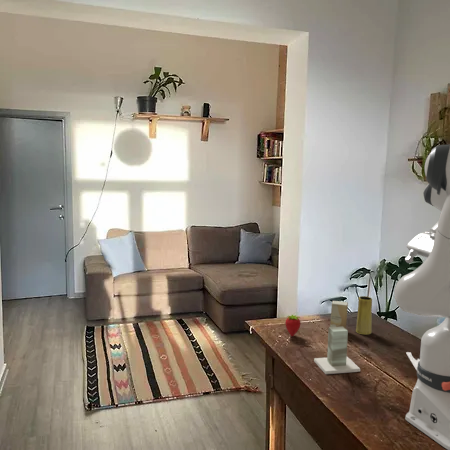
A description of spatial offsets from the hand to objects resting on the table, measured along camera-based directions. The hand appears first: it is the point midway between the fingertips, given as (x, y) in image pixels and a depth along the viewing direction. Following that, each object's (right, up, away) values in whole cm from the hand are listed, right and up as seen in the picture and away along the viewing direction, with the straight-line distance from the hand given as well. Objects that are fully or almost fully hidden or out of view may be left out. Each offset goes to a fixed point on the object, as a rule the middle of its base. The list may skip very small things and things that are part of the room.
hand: (415, 264), depth 150 cm
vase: (-7, -30, +34) cm, 46 cm away
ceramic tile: (-26, -34, +2) cm, 43 cm away
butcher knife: (+4, -35, +6) cm, 35 cm away
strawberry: (-36, -31, +28) cm, 55 cm away
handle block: (-26, -33, +2) cm, 42 cm away
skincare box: (-17, -30, +34) cm, 48 cm away
